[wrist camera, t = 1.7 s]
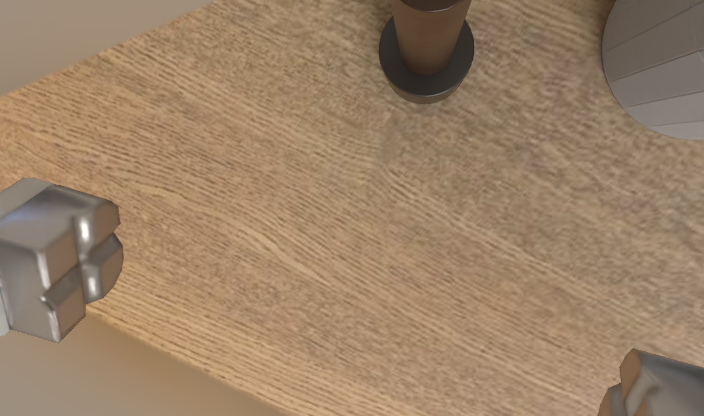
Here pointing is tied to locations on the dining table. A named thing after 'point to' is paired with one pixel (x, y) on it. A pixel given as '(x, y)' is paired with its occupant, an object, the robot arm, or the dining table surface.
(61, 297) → the robot arm
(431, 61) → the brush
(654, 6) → the gray cylindrical container
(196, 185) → the dining table surface
